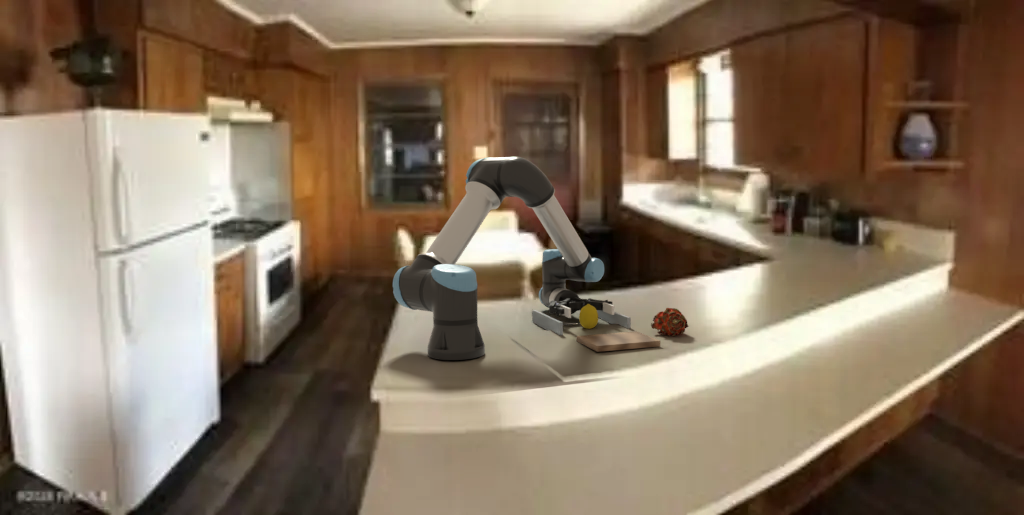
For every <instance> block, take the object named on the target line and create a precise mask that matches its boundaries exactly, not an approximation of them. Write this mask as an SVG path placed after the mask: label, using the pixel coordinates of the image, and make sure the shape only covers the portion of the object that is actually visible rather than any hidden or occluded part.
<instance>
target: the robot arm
mask: <svg viewBox="0 0 1024 515" xmlns="http://www.w3.org/2000/svg"><path fill="white" fill-rule="evenodd" d="M465 177H466V179H465V184H466V185H465V192H466V193H465V195H464V196H463V198H462V199H461V201H460V202H459V204H458V205H457V207H456V208H455V209H454V212H453V213H452V214H451V216H450V217H449V219H448V220H447V221H446V222H445V224H444V226H443V227H442V228H441V230H440V232H439V233H438V235H437V236H436V237H435V238H434V240H433V242H432V244H430V246H429V248H428V249H427V250H426V252H425V253H419V254H417V256H416V257H415V259H414V260H413V261H412V263H411V264H410V265H405V266H402V267H400V268H399V269H397V271H396V272H395V274H394V276H393V279H392V290H393V291H392V293H393V296H394V299H395V300H396V302H398V304H399V305H401V306H402V307H404V308H408V309H410V310H412V311H413V310H414V311H417V310H419V311H425V312H430V313H431V312H432V315H433V316H432V318H433V319H432V320H433V325H432V330H431V334H430V338H429V341H428V343H427V357H429V358H432V359H435V360H444V361H459V360H460V361H462V360H463V361H464V360H471V359H476V358H480V357H482V356H484V355H485V353H486V346H485V342H484V340H483V337H482V334H481V330H480V328H479V325H478V281H477V273H476V271H475V270H474V269H473V268H471V267H470V266H466V265H461V264H457V262H458V260H459V259H460V258H461V256H462V254H463V253H464V252H465V250H466V249H467V247H468V245H469V244H470V242H471V241H472V239H473V237H474V236H475V235H476V233H477V232H478V230H479V228H480V227H481V225H482V224H483V222H484V221H485V219H486V218H487V216H488V215H489V213H490V211H491V210H497V209H498V208H499V207H500V206H501V205H502V203H503V201H504V199H506V198H510V197H511V198H518V199H520V200H522V201H523V203H524V204H525V206H526V207H527V208H529V209H532V210H533V212H534V214H535V216H536V217H537V218H538V220H539V221H540V223H541V224H542V225H541V226H543V228H544V230H545V231H546V233H547V234H548V237H550V239H551V241H552V242H553V244H554V245H555V247H556V248H550V249H545V250H543V251H542V257H541V258H542V260H541V261H542V262H541V264H542V267H541V268H542V270H541V271H542V274H541V275H542V283H541V284H542V287H541V288H540V290H539V291H538V299H539V301H540V303H541V304H543V306H544V307H546V308H547V309H549V310H548V311H549V312H548V313H549V315H554V314H555V317H557V318H558V317H561V316H563V317H566V318H568V319H572V315H574V314H575V313H577V312H580V310H581V309H582V308H583V307H584V306H586V305H587V304H590V305H592V306H593V307H595V308H596V310H603V312H606V313H608V314H611V315H614V312H615V304H613V301H612V300H611V301H609V300H608V299H605V300H601V299H593V298H590V297H589V298H581V297H580V296H579V295H578V294H577V293H576V292H575V291H572V290H570V289H567V288H566V282H567V280H569V281H576V282H585V283H596V282H599V281H600V280H601V279H602V277H603V276H604V274H605V264H604V262H603V261H602V260H601V259H600V258H597V257H592V256H591V254H590V253H589V251H588V249H587V247H586V245H585V244H584V242H583V241H582V239H581V237H580V236H579V234H578V233H577V231H576V229H575V228H574V226H573V224H572V222H571V221H570V220H569V218H568V216H567V214H566V213H565V211H564V209H563V208H562V206H561V204H560V202H559V200H558V199H557V198H556V196H555V192H556V189H555V187H554V185H553V184H552V182H551V181H550V179H549V178H548V176H547V175H546V174H545V173H544V172H543V171H542V170H541V169H540V168H539V167H538V166H537V165H536V164H534V163H533V162H532V161H530V160H528V159H527V158H524V157H521V156H505V157H504V156H501V157H498V156H497V157H492V156H491V157H484V158H480V159H479V158H478V159H477V160H475V161H474V162H472V163H471V164H470V165H469V167H468V169H467V172H466V174H465Z"/></svg>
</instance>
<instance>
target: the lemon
mask: <svg viewBox="0 0 1024 515" xmlns="http://www.w3.org/2000/svg"><path fill="white" fill-rule="evenodd" d="M578 319H579V321H578V322H580V324H579V325H580V326H581V327H582V328H584V329H586V330H590V329H591V330H592V329H594V328H595V327H596V326H597V324H598V323H599V318H598V313H597V310H596V308H595V307H593V306H592V305H590V304H587V305H586V306H584V307H583V308H582V309H581V310H579V315H578Z"/></svg>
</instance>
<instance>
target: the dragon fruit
mask: <svg viewBox="0 0 1024 515" xmlns="http://www.w3.org/2000/svg"><path fill="white" fill-rule="evenodd" d="M652 319H653V320H652ZM652 319H651V320H652V321H653V322H650V326H651V329H655V330H657V331H659V333H660V335H661V336H666V335H668V336H669V337H675V336H678V335H682V334H684V333H685V332H686V329H688V327H689V324H688V320H687V318H686V317H685V315H684V314H683V313H682V312H681V311H680V310H679V309H678V308H674V307H666V308H665V310H664V311H663V310H662V311H659V312H658V313H657V314H655V315H654V316H653V318H652Z"/></svg>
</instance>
